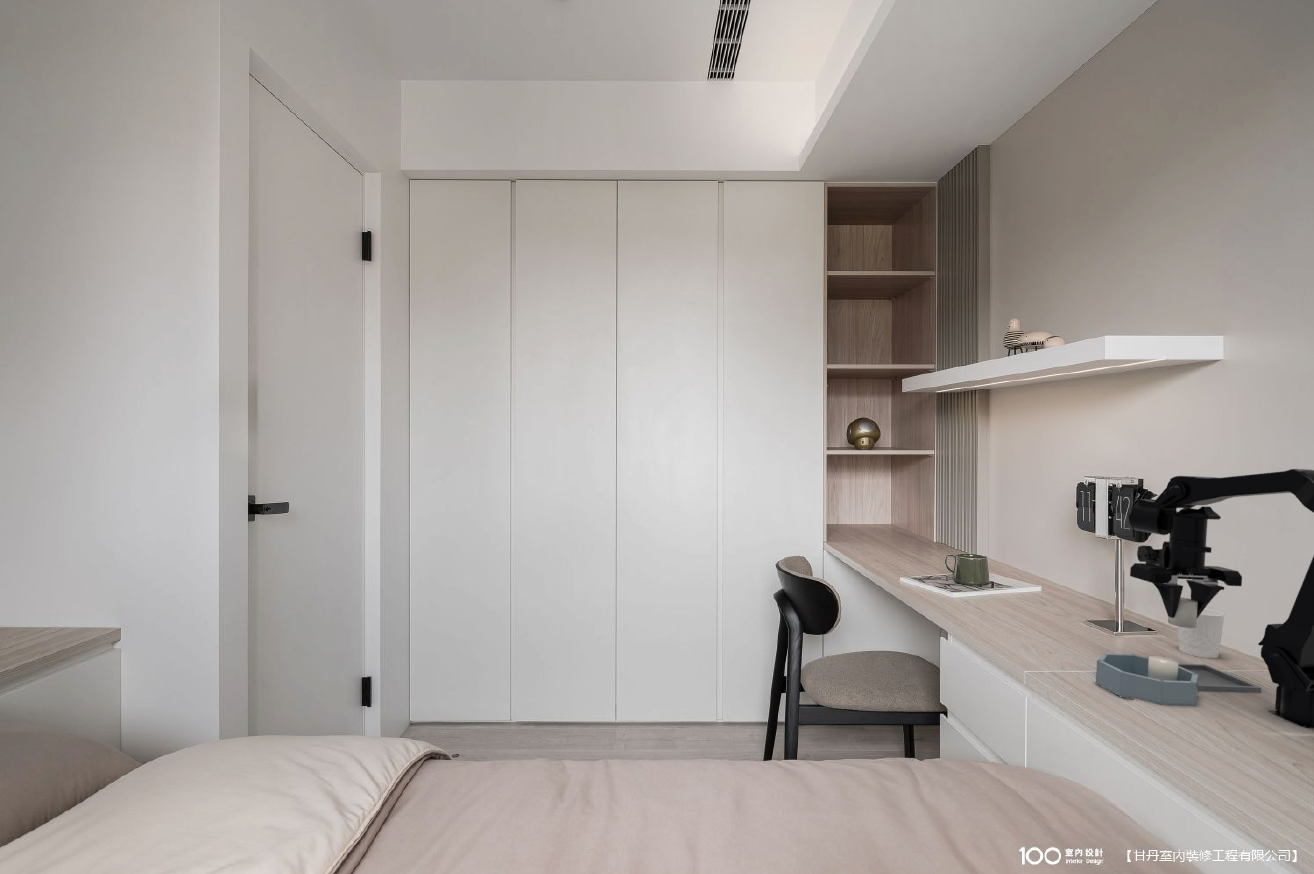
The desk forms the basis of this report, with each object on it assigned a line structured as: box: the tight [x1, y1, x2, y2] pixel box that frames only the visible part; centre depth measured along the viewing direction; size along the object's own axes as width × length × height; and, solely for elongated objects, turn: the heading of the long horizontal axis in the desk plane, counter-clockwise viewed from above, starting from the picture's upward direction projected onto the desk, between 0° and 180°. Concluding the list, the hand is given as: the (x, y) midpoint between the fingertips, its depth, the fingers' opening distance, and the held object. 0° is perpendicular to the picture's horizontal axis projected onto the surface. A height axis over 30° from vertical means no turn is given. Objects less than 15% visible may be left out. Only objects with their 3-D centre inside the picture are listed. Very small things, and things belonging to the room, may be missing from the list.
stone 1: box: [1148, 655, 1179, 681], centre depth 124 cm, size 4×4×5 cm
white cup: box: [1177, 607, 1225, 659], centre depth 147 cm, size 8×8×10 cm
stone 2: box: [1167, 597, 1198, 628], centre depth 132 cm, size 4×4×5 cm
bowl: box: [1095, 652, 1199, 706], centre depth 124 cm, size 15×15×4 cm
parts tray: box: [1178, 663, 1262, 694], centre depth 130 cm, size 12×13×2 cm
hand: (1182, 617), depth 132 cm, fingers closed on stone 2, 4 cm apart
